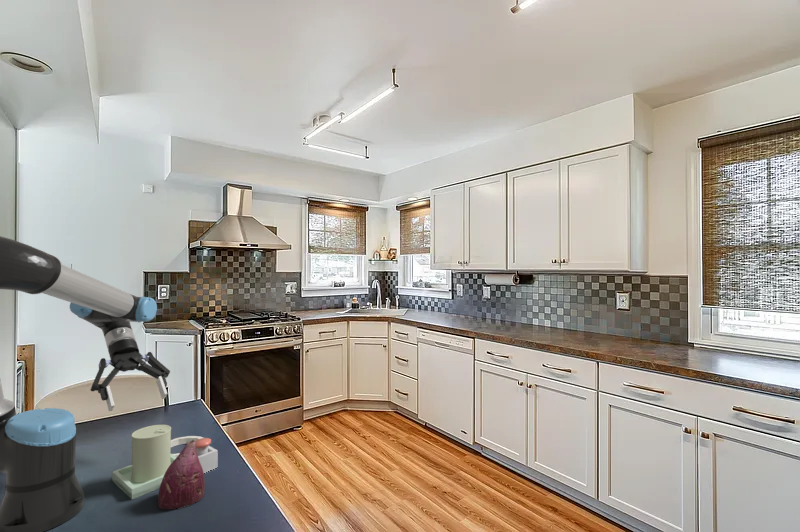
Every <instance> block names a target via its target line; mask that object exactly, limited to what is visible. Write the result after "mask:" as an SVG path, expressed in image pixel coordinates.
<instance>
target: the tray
mask: <svg viewBox="0 0 800 532" xmlns="http://www.w3.org/2000/svg"><path fill="white" fill-rule="evenodd" d="M173 454H174V453H171V463H172V462H173V461H174V460H175V459H176V458H177V457H176V456H174V455H173ZM131 475H132V464H131V465H127V466H124V467H121V468H118V469H116V470H113V471H112V472H111V482H113V484H114V485H116V486H117V487H118V488H119V489H120V490H121V491H122V492H123V493H124V494H125V495H127V497H128V498H130V499H131V500H134V499H137V498H140V497H142V496H144V495H147V494H149V493H152V492H154V491H157V490H159V489H160V485H161V482H162V479H163V477H164V475H163V476H160V477H158V478H155V479H153V480H150V481H148V482H145V483H136V482H133V481H132V480H131Z"/></svg>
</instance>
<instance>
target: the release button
mask: <svg viewBox="0 0 800 532" xmlns="http://www.w3.org/2000/svg"><path fill="white" fill-rule="evenodd" d="M194 442H195V444H196V448H197V455H198V456H200V455H203V454H205V453H208V445H209V446H210V445H212V439H211V438H208V437H203V438H201V439H198V440H196V441H194Z"/></svg>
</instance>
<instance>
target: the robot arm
mask: <svg viewBox="0 0 800 532" xmlns="http://www.w3.org/2000/svg"><path fill="white" fill-rule="evenodd" d="M0 290H7V291H8V290H9V291H10V290H11V291H18V292H23V293H26V294H29V295H39V294H44V295H47V296H50V297H53V298H56V299H59V300H62V301H66V302H69V311H70V312H71V313H73V315H75V316H77V317H78V319H82V320H84V321H86V322H87V323H89V324H91V325H93V326H95V327H97V328H99V329H100V330H102V334H103V337H104V341H105V345H106V347H107V351H108V355H109V359H106V358H104V357H103V358H101V359H100V361H99V364H98V370H97V373H96V375H95V378H94V380H93V382H92V384H91V388H90V390H89V391H91V392H95V391H96V392H97V393H98V394H100V398H101V401H106V404H107V410H108V412H112V411H113V409H114V408H115V402H114V398H113V397H114V396H113V394H112V390H111V386H110V383H111V382H112V380H113V379H114V378H115V377H116V375H117V374H119V372H122V373H123V372H124V373H125V372H128V371H135V370H137V371H139V372H143V373H145V374H147V375H148V376H151V377H152V378H154V379H156V382H155V383H156V385H157V388H158V391H159V394H160V397H161V400H164V399H166V397H167V395H168V394H169V393H168V391H167V389H166V388H167V385H168V382H167V378H168V377H169V375H170V374H171V370H170V369H169V368H167V367H166V366H165V365H164V364H163V363H162V362H160V361H159V360H158V359H157V358H156V357H155V356H154V354H153V352H152V351H149V352H147V353H145V354H141V353H140V349H139V346H138V344H137V341H136V337H135V335H134V331H133V328H132V325H131V322H132V323H142V322H143V323H144V322H150V321H152V320H153V319H154V318H155V316H156V314H157V311H158V305H157V302H156V300H155V299H154V298H153V297H149V296H148V297H147V296H136V295H133V294H131V293H129V292H126V291H124V290H121V289H120V288H118V287H115V286H112V285H110V284H108V283H105V282H103V281H102V280H98V279H96V278H94V277H92V276H89V275H87V274H85V273H82V272H80V271H77V270H75V269H74V268H71V267H68V266H66V265H63V264H62V262H61V260H60V259H59V258H58V257H56V256H54V255H53V254H50V253H47V252H45V251H43V250H42V249H39V248H36V247H34V246H31V245H29V244H25V243H24V242H21V241H17V240H16V239H11V238H8V237H5V236H1V235H0ZM109 365H110V366H112V367H113V369H112V370H111V371H110V373H109V374H108V375H107V376H106V377H105V379H104V380H103V381H102V383H100V380H101V378H102V376H103V373H104V370H105V369H106V368H108V367H109ZM4 397H5V396H4V391H3V386H2V381H1V379H0V474H5V493H4V494H5V495H4V497H3V498H2V501H1V503H0V532H46V531H49V530H51V529H53V528H56V527H59V526H61V525H62V524H64V523H66V522H68V521H70V520H71V519H72V518H74V517H75V516H76V515H77V514H79V513H80V512H81V510H82V509H83V507H84V506H85V493H84V490H83V488H82V487H81V484H80V481H79V479H78V477H77V475H76V442H77V440H76V439H77V438H76V437H77V436H76V434H77V427H76V422H75V421H76V419H75V416H74V414H73V413H72V412H71V411H70V410H68V409H67V410H66V409H63V408H56V407H47V408H44V409H43V408H37V409H35V408H34V409H30V410H26V411H22V412H20V413H17V411H16V410H17V409H16V405H15V402H14V401H12V400H9V399H6V398H4Z"/></svg>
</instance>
